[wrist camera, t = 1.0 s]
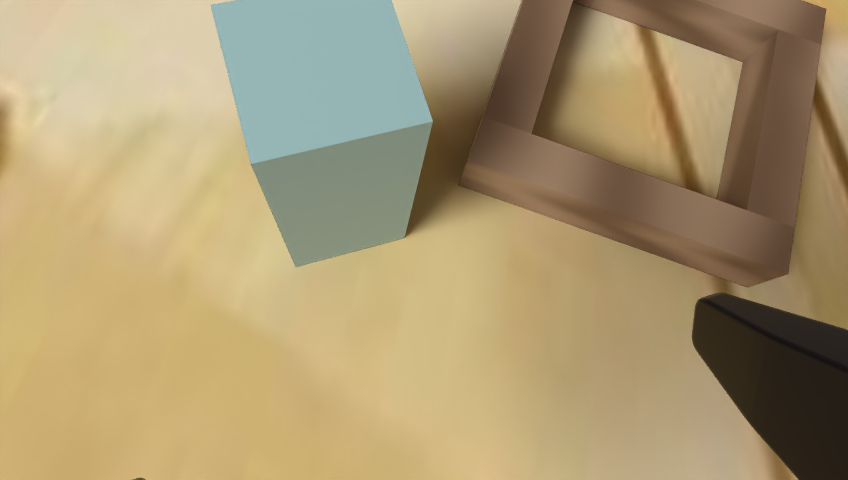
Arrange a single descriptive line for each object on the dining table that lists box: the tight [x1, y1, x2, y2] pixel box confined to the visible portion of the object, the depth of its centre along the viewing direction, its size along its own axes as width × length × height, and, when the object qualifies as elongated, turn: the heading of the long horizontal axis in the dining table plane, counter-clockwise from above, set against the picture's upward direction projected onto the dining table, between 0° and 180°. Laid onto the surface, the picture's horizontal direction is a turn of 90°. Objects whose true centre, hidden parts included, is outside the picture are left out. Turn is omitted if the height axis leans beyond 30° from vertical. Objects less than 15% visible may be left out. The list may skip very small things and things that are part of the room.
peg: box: [211, 0, 433, 267], centre depth 20 cm, size 4×4×10 cm
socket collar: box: [458, 0, 826, 287], centre depth 26 cm, size 13×13×2 cm
